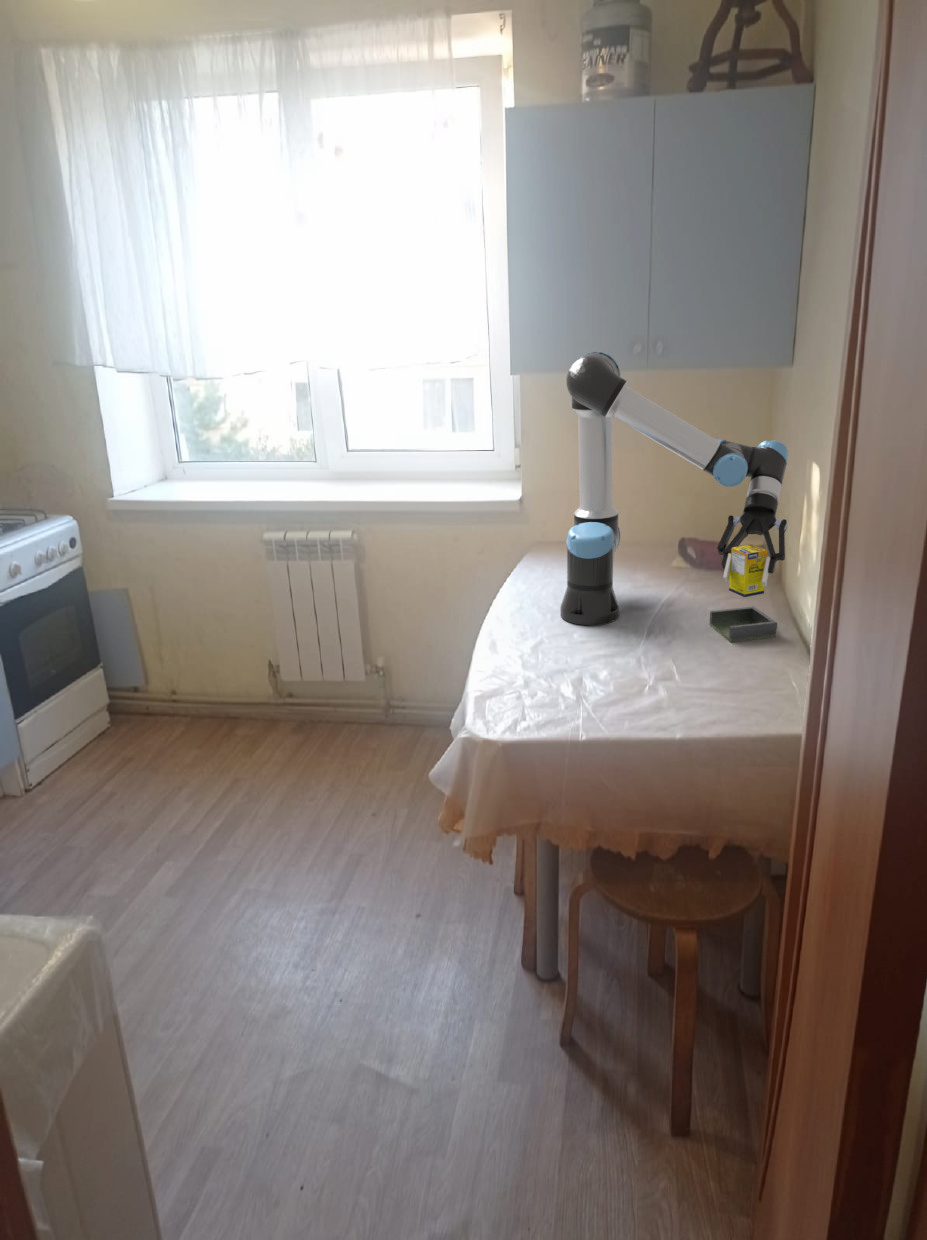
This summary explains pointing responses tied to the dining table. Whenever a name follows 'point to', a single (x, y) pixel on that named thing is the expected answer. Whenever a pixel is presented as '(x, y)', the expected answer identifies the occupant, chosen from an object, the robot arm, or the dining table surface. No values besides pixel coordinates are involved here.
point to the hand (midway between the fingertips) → (744, 582)
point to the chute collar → (743, 624)
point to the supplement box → (747, 570)
